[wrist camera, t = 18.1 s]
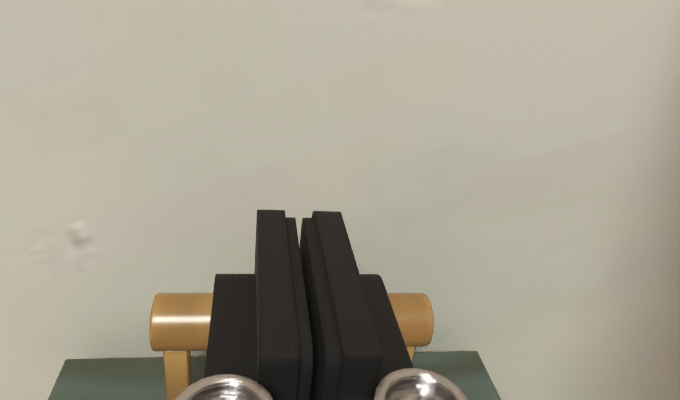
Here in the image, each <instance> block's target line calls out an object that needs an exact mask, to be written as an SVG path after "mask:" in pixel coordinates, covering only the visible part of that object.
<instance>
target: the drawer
mask: <svg viewBox="0 0 680 400" xmlns="http://www.w3.org/2000/svg"><path fill="white" fill-rule="evenodd" d="M387 295H388V297H389V300H390V303H391V306H392V308H393V311H394V314H395V317H396V320H397V322H398V325H399V328H400V331H401V334H402V336H403V339H404V342H405V345H406V347H407V350H408V353H409V356H410V359H411V361H412V364H413V367H414V368H419V369H423V370H428V371H432V372H434V373H437V374H439V375H441V376H443V377H445V378H447V379H448V380H449V381H451V382H452V383H454V384H455V385H456V386H458V388H459V389H460V390H461V391H462V393H463V394H464V395H465V396H466V397H467V399H468V400H501V399H500V397H499V395H498V393H497V391H496V389H495V387H494V384H493V382H492V380H491V378H490V376H489V374H488V372H487V370H486V368H485V366H484V364H483V362H482V360H481V358H480V356H479V354H478V352H477V351H458V352H414V350H415V347H418V346H427V345H428V344H429V343H430V341H431V338H432V334H433V311H432V307H431V303H430V300H429V298H428V296H427V295H426V294H423V293H387ZM212 301H213V293H158V294H156V296H155V298H154V300H153V304H152V309H151V316H150V345H151V348H152V350H153V351H163V354H164V357H157V358H107V359H67V360H65V362H64V365H63V367H62V369H61V371H60V374H59V376H58V378H57V380H56V383H55V385H54V387H53V389H52V392H51V394H50V396H49V398H48V400H175V399H176V397H177V396H178V395H179V394H180V393H181V392H183V391H184V390H185V389H186V388H187V387H188V386H190V385H192V384H193V383H195V382H197V381H199V380H201V379H203V378H204V373H205V364H206V357H191V351H196V350H207V346H208V337H209V328H210V319H211V310H212Z"/></svg>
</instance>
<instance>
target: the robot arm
mask: <svg viewBox="0 0 680 400" xmlns="http://www.w3.org/2000/svg"><path fill="white" fill-rule="evenodd" d="M175 400H468V399H467V397H466V396H465V395H464V394H463V393H462V391H461V390H460V389H459V388H458V386H456V385H455V384H454V383H452V382H451V381H449V380H448V379H447V378H445V377H443V376H441V375H439V374H437V373H434V372H432V371H428V370H423V369H419V368H414V367H413V364H412V361H411V359H410V356H409V353H408V350H407V347H406V345H405V342H404V339H403V336H402V334H401V331H400V328H399V325H398V322H397V320H396V317H395V314H394V311H393V308H392V306H391V303H390V300H389V297H388V295H387V292H386V289H385V286H384V283H383V281H382V279H381V277H380V276H379V275H378V274H359V271H358V268H357V265H356V261H355V258H354V255H353V251H352V248H351V245H350V241H349V238H348V235H347V231H346V228H345V225H344V221H343V218H342V215H341V212H328V211H313V214H312V218H303V219H302V227H301V238H300V249H299V242H298V235H297V228H296V221H295V218H286V217H285V211H284V210H257V226H256V250H255V274H216V276H215V283H214V292H213V301H212V310H211V319H210V328H209V337H208V346H207V355H206V364H205V373H204V378H203V379H201V380H199V381H197V382H195V383H193V384H192V385H190V386H188V387H187V388H186V389H185V390H184V391H183V392H181V393H180V394H179V395H178V396H177V397H176V399H175Z"/></svg>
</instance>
